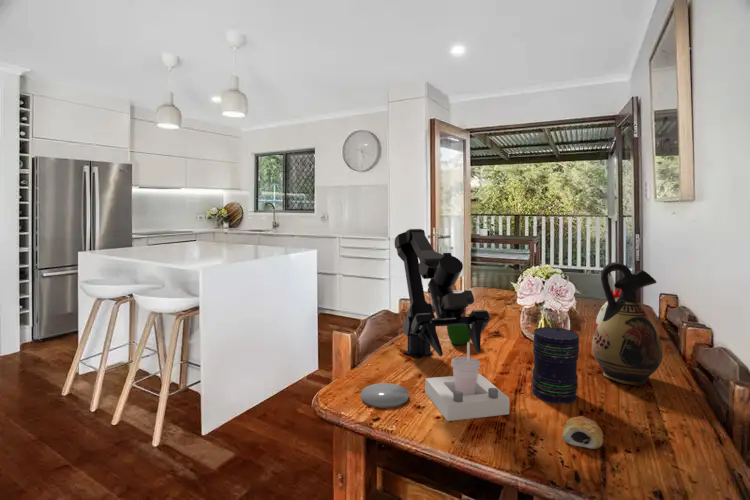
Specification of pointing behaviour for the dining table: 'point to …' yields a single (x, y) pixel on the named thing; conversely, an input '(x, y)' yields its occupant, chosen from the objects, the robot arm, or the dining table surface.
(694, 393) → the dining table surface
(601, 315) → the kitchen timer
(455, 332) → the bell pepper
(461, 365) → the smoothie
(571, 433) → the pastry
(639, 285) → the ceramic jug
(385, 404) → the coaster
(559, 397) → the storage jar
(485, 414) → the holder
